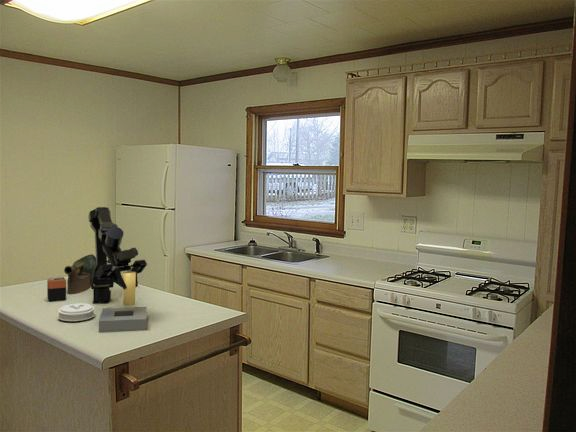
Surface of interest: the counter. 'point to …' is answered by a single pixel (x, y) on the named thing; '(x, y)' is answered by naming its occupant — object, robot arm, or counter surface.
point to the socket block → (122, 319)
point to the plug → (129, 288)
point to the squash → (87, 264)
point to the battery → (56, 289)
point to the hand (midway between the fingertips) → (131, 287)
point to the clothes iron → (77, 279)
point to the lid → (76, 312)
